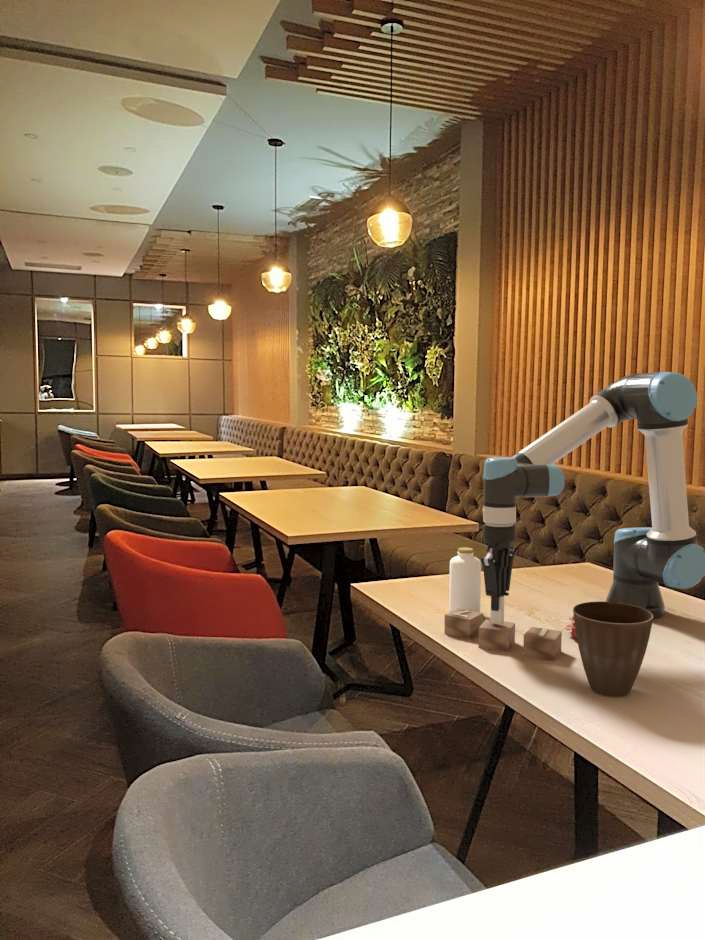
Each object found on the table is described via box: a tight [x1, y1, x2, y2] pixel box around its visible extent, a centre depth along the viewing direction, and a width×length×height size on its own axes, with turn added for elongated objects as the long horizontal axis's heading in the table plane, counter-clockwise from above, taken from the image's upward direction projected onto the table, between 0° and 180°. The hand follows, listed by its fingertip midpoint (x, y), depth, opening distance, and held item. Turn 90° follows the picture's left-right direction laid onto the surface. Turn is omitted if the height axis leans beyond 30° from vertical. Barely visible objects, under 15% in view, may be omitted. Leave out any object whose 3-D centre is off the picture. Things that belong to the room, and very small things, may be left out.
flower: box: [564, 614, 577, 639], centre depth 178 cm, size 10×9×8 cm
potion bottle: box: [448, 546, 482, 613], centre depth 197 cm, size 8×8×18 cm
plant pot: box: [572, 601, 654, 698], centre depth 146 cm, size 15×15×16 cm
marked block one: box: [522, 626, 563, 662], centre depth 167 cm, size 7×7×5 cm
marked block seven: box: [444, 608, 484, 640], centre depth 183 cm, size 7×7×5 cm
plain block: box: [478, 619, 516, 652], centre depth 174 cm, size 7×7×5 cm
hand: (497, 622), depth 173 cm, fingers closed
